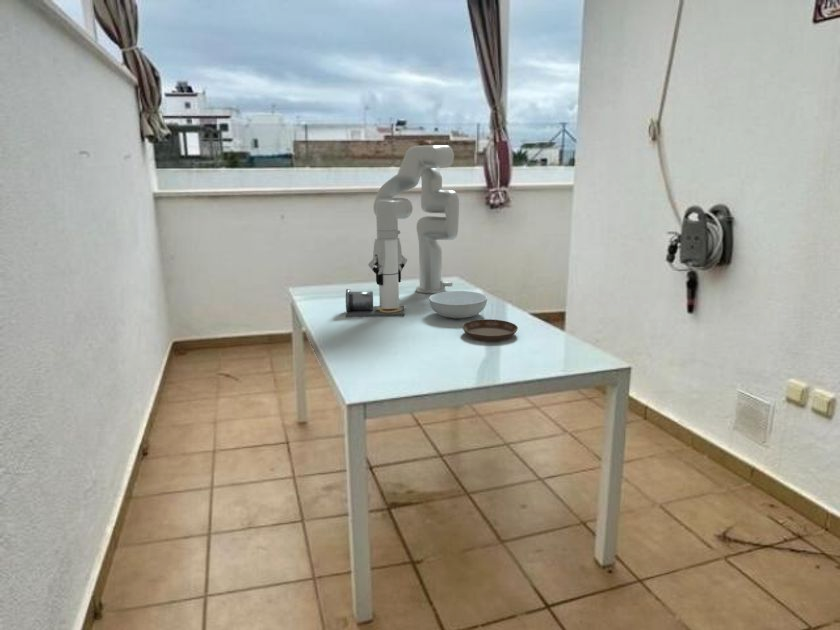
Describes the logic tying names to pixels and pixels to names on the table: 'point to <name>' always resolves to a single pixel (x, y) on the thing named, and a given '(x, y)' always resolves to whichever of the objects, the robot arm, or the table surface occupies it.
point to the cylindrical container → (390, 277)
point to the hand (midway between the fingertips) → (388, 282)
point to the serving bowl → (458, 303)
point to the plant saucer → (489, 330)
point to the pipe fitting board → (373, 313)
